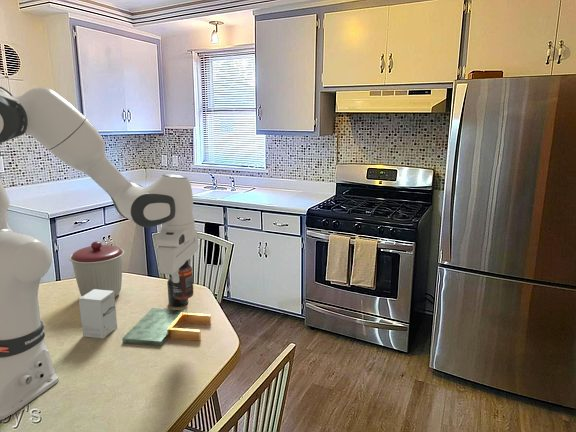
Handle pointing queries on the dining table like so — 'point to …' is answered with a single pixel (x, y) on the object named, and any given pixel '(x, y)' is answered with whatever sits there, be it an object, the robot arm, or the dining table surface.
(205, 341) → the dining table surface
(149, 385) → the dining table surface
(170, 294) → the supplement bottle
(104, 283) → the canister
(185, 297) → the supplement bottle
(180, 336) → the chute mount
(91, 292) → the supplement box
